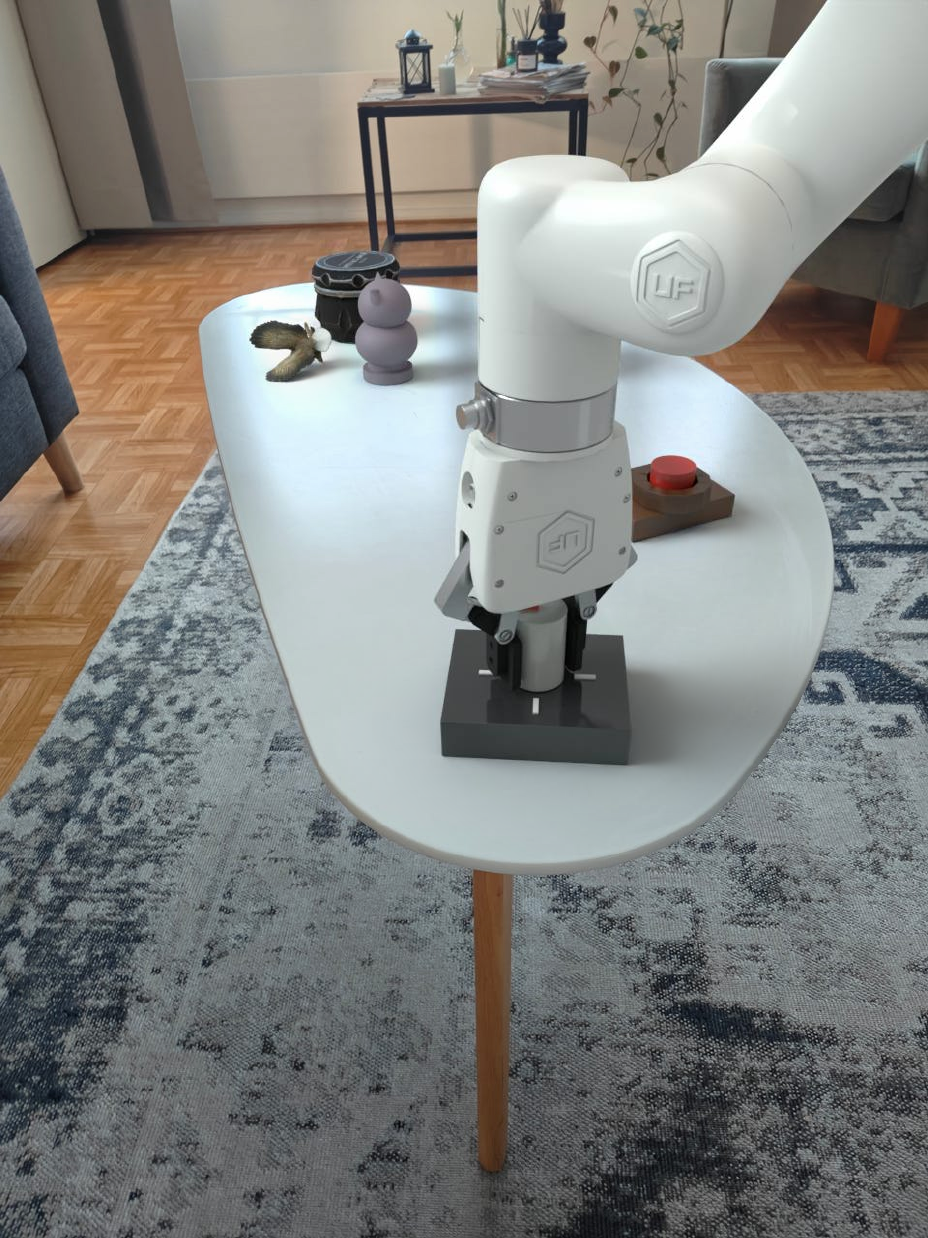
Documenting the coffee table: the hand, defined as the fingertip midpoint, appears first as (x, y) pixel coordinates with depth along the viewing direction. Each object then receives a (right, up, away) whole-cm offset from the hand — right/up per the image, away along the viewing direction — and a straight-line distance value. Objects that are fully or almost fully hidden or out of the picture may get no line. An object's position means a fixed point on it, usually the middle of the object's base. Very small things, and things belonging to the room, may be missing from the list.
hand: (535, 666), depth 60 cm
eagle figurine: (-27, +36, +58) cm, 73 cm away
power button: (+14, +16, +22) cm, 30 cm away
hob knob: (0, -1, 0) cm, 1 cm away
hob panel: (0, -3, +2) cm, 4 cm away
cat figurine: (-14, +34, +55) cm, 67 cm away
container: (-20, +45, +70) cm, 86 cm away
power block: (+13, +14, +25) cm, 32 cm away
